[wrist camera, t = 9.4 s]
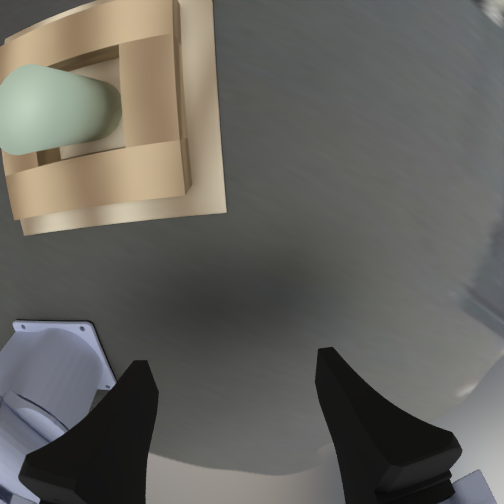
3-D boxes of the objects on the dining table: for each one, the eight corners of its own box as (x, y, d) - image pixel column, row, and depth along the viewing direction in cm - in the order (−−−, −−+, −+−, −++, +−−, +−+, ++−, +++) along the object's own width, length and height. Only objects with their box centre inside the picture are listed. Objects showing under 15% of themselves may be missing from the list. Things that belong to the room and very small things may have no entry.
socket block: (26, 233, 20) (3, 250, 17) (7, 39, 14) (-19, 34, 10) (226, 210, 20) (225, 227, 17) (211, -20, 14) (208, -43, 11)
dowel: (76, 149, 17) (-1, 168, 10) (64, 94, 16) (-14, 89, 9) (128, 129, 17) (64, 135, 10) (116, 72, 16) (50, 48, 8)
